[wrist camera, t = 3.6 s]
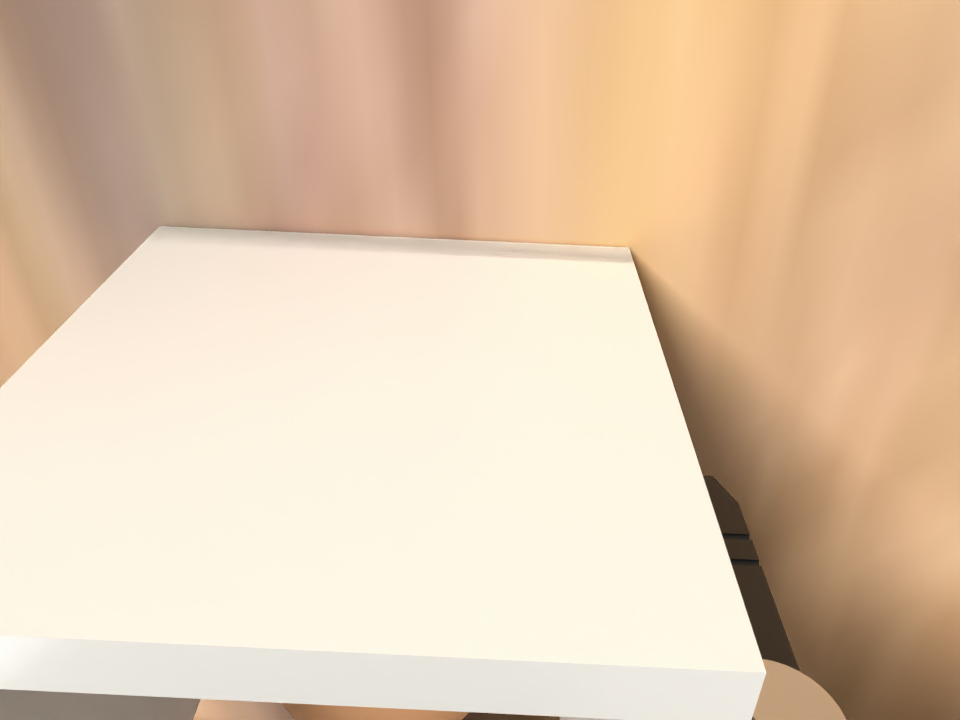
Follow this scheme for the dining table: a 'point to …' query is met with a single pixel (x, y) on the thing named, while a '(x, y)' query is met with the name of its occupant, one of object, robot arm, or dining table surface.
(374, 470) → the white cube stool
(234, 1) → the dining table surface
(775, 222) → the dining table surface
